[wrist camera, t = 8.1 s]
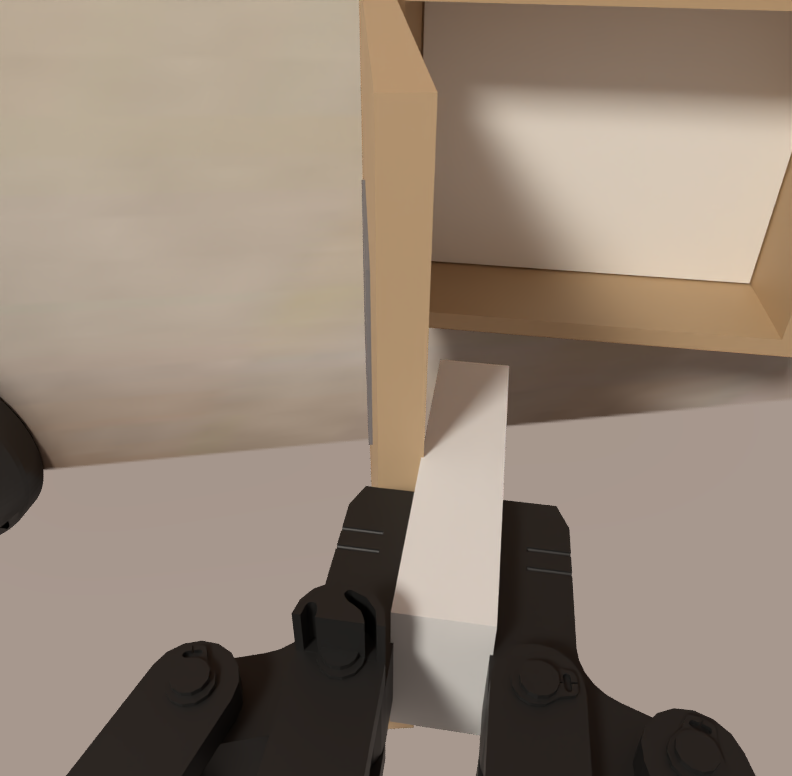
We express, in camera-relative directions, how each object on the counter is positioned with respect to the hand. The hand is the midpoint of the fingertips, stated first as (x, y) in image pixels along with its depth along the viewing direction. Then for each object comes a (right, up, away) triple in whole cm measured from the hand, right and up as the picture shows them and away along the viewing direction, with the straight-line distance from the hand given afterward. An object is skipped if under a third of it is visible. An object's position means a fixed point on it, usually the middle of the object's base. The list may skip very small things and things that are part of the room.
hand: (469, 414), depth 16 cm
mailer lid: (-2, +4, +5) cm, 7 cm away
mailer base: (+8, +12, +17) cm, 22 cm away
